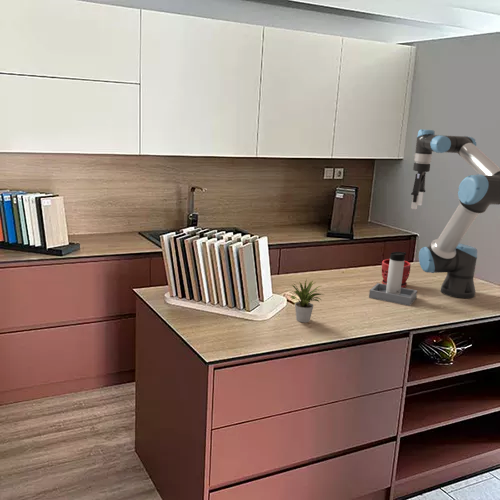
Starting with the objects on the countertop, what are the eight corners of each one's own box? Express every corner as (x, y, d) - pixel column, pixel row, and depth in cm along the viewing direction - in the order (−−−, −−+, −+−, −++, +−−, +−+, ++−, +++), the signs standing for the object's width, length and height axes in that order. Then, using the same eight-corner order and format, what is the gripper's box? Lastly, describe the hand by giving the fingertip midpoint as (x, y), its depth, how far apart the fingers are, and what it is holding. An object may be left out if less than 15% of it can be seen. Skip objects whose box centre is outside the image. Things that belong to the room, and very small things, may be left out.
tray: (416, 297, 252) (417, 290, 251) (409, 305, 241) (410, 298, 240) (376, 290, 260) (377, 283, 259) (368, 297, 248) (369, 290, 248)
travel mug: (401, 298, 246) (406, 254, 242) (385, 296, 248) (391, 252, 243) (400, 294, 252) (405, 251, 248) (385, 292, 254) (390, 249, 249)
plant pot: (379, 280, 275) (382, 257, 272) (406, 283, 272) (409, 260, 270) (379, 288, 263) (382, 264, 260) (408, 291, 260) (411, 267, 257)
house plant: (292, 329, 207) (296, 287, 203) (276, 316, 219) (279, 276, 215) (326, 325, 213) (330, 284, 209) (308, 312, 225) (311, 273, 221)
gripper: (418, 160, 278) (413, 202, 284) (409, 163, 256) (403, 209, 262) (434, 161, 275) (428, 204, 280) (426, 165, 253) (420, 211, 259)
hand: (416, 207), depth 271 cm, fingers open, 13 cm apart
